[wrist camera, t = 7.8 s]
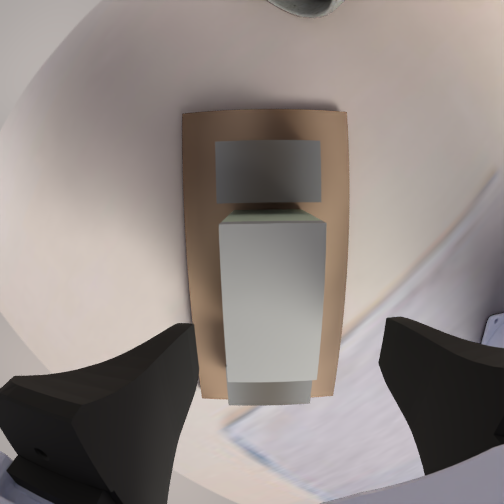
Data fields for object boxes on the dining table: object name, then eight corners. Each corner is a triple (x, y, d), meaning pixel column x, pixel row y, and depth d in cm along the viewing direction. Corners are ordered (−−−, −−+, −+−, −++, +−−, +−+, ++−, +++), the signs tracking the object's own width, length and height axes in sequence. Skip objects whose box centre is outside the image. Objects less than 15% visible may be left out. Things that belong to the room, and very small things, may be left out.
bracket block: (301, 209, 18) (326, 222, 11) (299, 318, 19) (316, 379, 12) (233, 210, 18) (218, 224, 11) (237, 319, 19) (227, 381, 13)
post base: (342, 115, 17) (365, 96, 13) (330, 388, 21) (342, 425, 17) (186, 117, 17) (165, 98, 13) (204, 390, 22) (194, 429, 17)
